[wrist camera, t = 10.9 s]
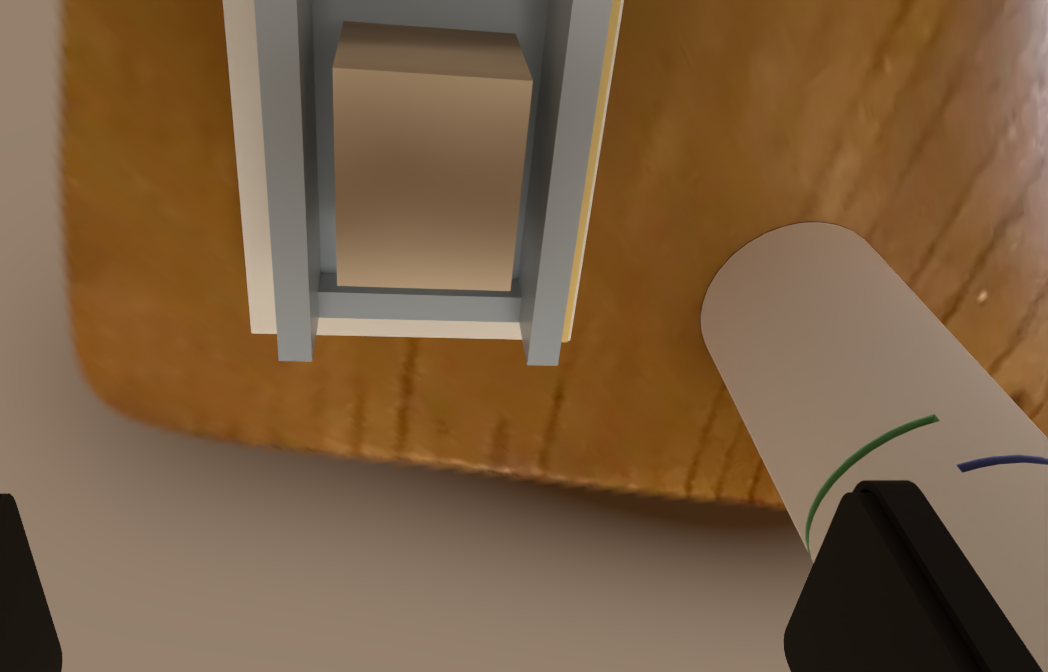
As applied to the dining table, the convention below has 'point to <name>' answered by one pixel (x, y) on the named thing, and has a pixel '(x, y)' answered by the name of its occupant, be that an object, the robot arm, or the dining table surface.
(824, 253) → the cylindrical container
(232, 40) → the dock
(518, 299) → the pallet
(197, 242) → the dining table surface
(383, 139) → the tan block
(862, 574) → the robot arm
